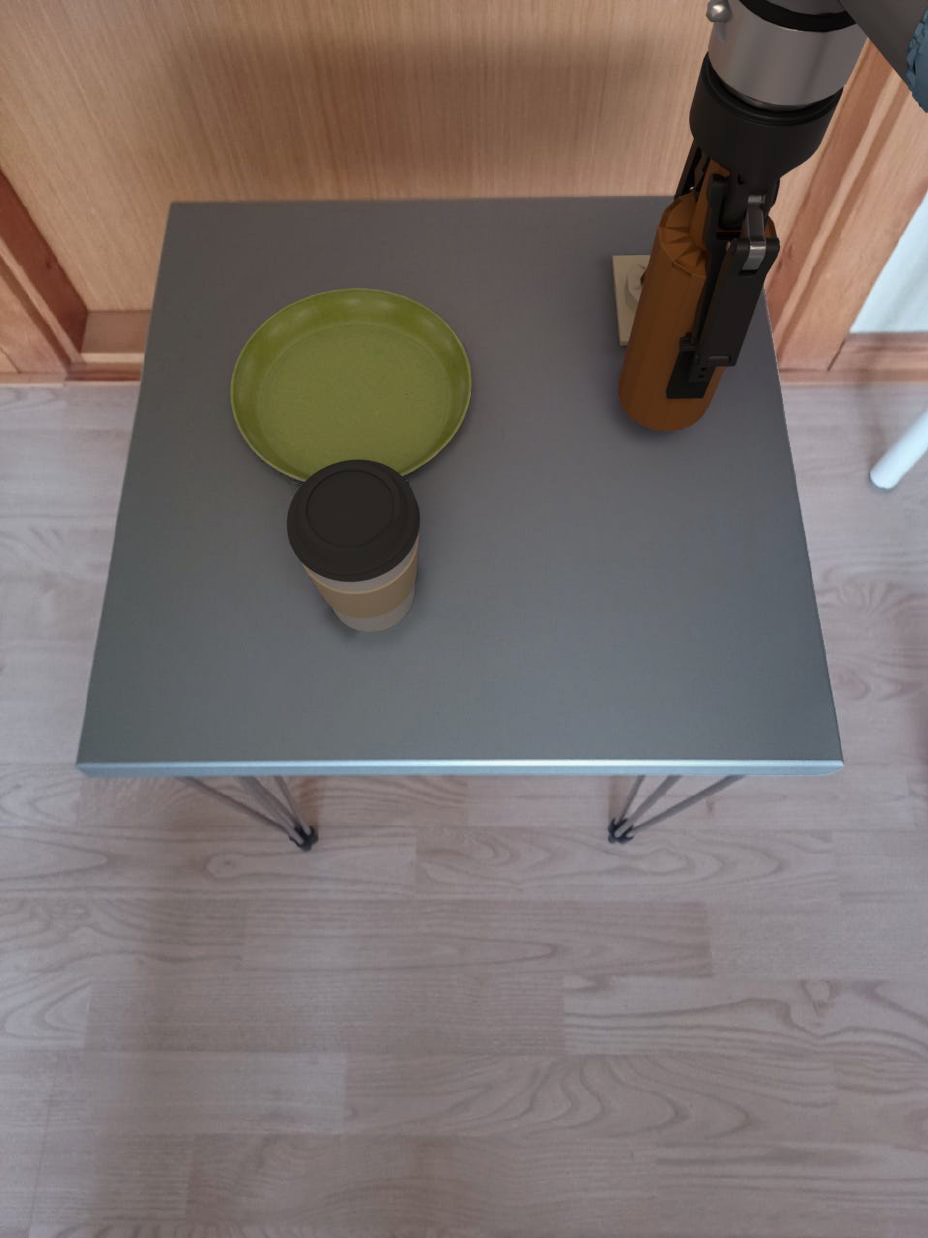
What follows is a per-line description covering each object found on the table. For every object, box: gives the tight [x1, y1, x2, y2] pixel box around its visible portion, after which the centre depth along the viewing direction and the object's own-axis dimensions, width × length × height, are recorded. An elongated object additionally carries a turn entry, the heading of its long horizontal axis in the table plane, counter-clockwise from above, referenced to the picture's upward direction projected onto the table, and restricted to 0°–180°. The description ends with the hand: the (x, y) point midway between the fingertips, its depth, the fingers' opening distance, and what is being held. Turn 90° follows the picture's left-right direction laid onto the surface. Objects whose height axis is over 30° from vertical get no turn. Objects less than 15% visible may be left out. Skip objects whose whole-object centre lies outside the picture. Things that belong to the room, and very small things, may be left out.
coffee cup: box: [286, 459, 421, 633], centre depth 64 cm, size 9×9×15 cm
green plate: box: [229, 287, 472, 483], centre depth 76 cm, size 21×21×3 cm
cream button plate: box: [611, 254, 651, 347], centre depth 80 cm, size 10×8×2 cm
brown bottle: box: [617, 159, 778, 432], centre depth 61 cm, size 8×8×23 cm
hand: (679, 348), depth 67 cm, fingers closed on brown bottle, 8 cm apart
